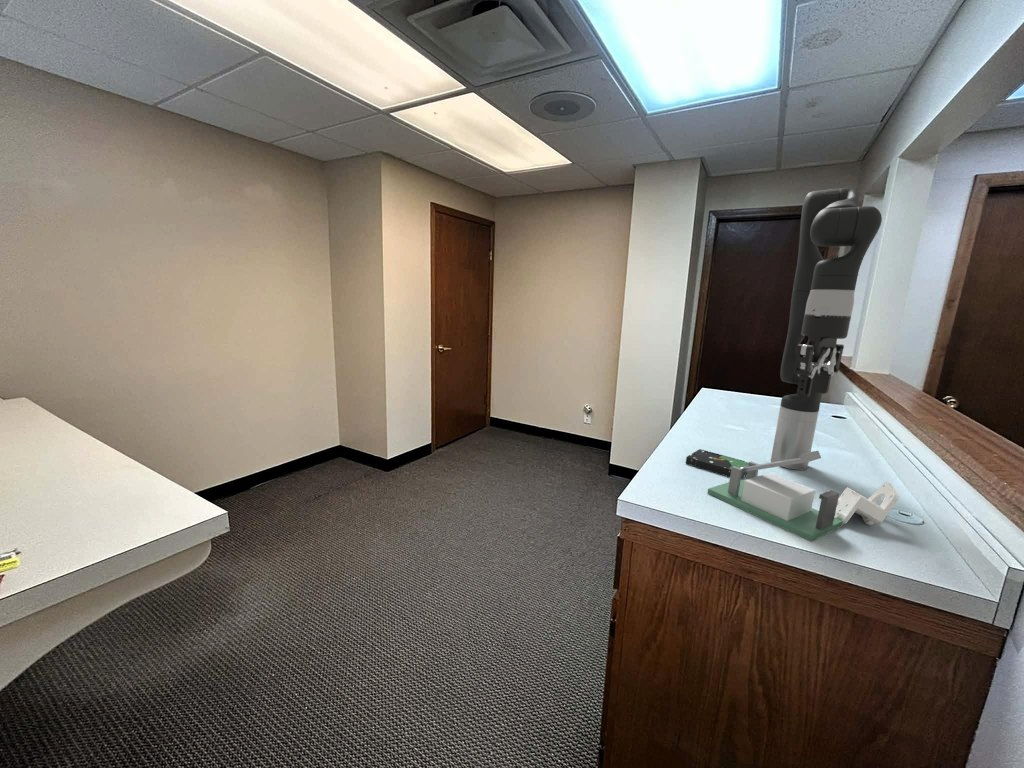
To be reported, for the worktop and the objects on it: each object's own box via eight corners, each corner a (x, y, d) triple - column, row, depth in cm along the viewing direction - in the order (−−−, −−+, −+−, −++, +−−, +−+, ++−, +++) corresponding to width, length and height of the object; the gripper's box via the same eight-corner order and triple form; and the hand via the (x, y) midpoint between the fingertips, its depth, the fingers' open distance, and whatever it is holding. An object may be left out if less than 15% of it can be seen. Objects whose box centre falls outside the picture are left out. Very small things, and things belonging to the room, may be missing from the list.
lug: (824, 521, 88) (831, 489, 86) (832, 524, 86) (839, 492, 85) (812, 526, 85) (819, 494, 84) (820, 530, 84) (827, 497, 82)
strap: (749, 470, 101) (746, 463, 102) (822, 458, 87) (818, 450, 88) (736, 474, 99) (733, 466, 99) (809, 462, 85) (805, 454, 85)
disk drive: (684, 465, 120) (740, 481, 110) (685, 456, 119) (742, 472, 109) (698, 457, 127) (751, 471, 117) (699, 448, 127) (752, 462, 117)
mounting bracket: (865, 540, 87) (904, 504, 82) (834, 521, 89) (870, 484, 85) (856, 517, 97) (890, 483, 92) (827, 499, 99) (860, 465, 95)
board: (738, 483, 108) (743, 455, 106) (842, 525, 88) (849, 492, 87) (707, 493, 101) (711, 463, 100) (811, 541, 82) (819, 505, 80)
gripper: (823, 313, 89) (809, 388, 93) (788, 311, 82) (774, 393, 86) (866, 315, 83) (849, 395, 86) (831, 313, 76) (814, 401, 79)
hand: (812, 394), depth 86 cm, fingers open, 7 cm apart
